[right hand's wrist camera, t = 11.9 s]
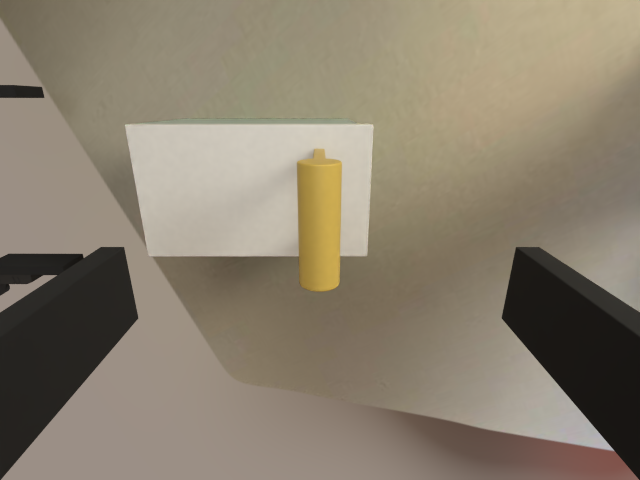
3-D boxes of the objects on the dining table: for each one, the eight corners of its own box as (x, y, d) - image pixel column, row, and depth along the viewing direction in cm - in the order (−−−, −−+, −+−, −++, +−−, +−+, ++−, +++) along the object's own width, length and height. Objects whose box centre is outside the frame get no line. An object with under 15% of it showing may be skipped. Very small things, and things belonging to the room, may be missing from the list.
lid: (371, 123, 24) (398, 133, 16) (365, 250, 28) (385, 314, 19) (133, 123, 24) (34, 133, 16) (155, 250, 28) (82, 315, 19)
